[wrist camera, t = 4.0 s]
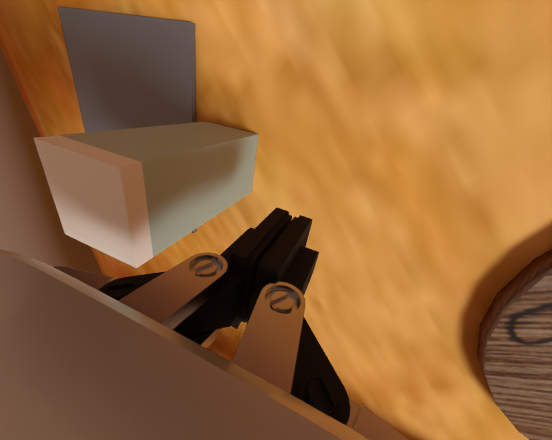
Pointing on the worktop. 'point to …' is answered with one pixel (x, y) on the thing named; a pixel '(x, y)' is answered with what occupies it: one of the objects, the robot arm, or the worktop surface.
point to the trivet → (521, 349)
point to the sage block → (145, 183)
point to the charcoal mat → (130, 69)
